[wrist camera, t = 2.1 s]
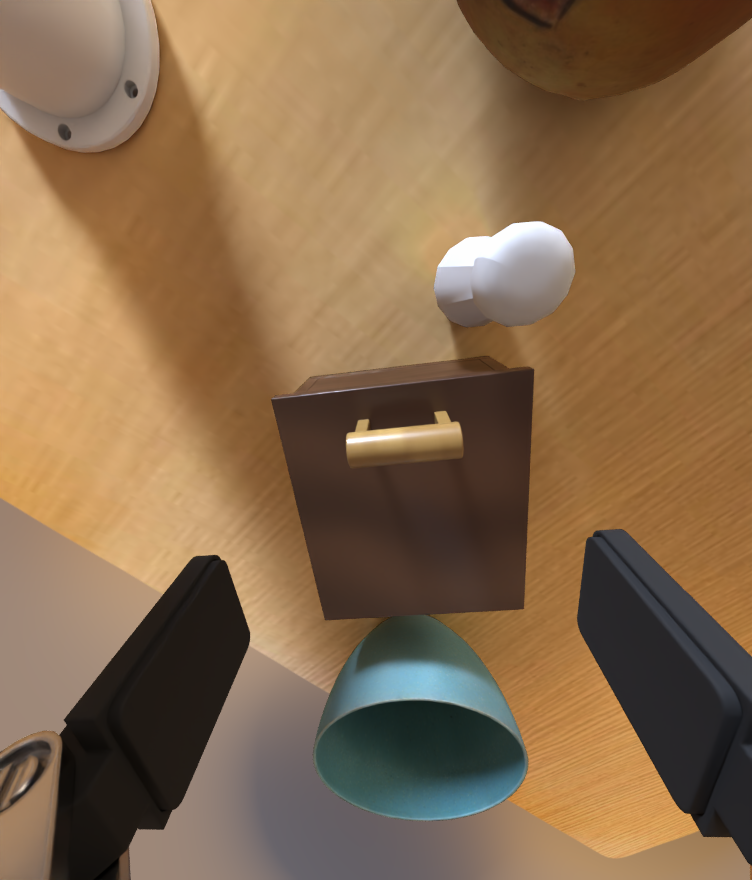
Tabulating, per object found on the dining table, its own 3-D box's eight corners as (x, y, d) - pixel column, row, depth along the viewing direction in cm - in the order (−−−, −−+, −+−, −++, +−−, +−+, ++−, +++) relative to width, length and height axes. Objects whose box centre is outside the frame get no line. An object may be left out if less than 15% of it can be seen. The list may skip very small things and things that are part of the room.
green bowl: (461, 701, 45) (484, 837, 34) (322, 673, 44) (298, 803, 33) (514, 598, 38) (565, 725, 27) (351, 563, 37) (333, 679, 26)
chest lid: (274, 395, 21) (238, 425, 16) (529, 366, 20) (574, 389, 15) (326, 612, 28) (312, 680, 23) (520, 600, 27) (550, 671, 22)
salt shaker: (489, 224, 25) (578, 158, 13) (519, 299, 27) (622, 300, 15) (417, 270, 27) (438, 248, 14) (450, 338, 28) (493, 368, 16)
